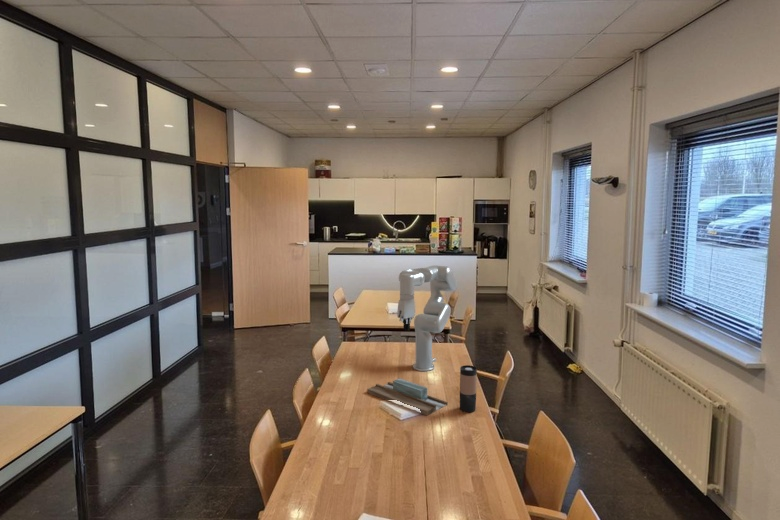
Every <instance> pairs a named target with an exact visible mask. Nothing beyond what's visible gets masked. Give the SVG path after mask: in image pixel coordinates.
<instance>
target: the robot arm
mask: <svg viewBox="0 0 780 520" xmlns="http://www.w3.org/2000/svg"><path fill="white" fill-rule="evenodd" d="M398 281H399V299H398V304H397V312H396V313H397V315H396V316H397V318H399V322H402V324H403V331H406V332H410V331H411V323H412V320H413V326H414V331H415V332H414V334H415V352H414V353H415V360H414V361H415V362H414V364H412V369H413V370H415V371H421V372H428V371H429V372H430V371H432V370H435V364H433V363H434V362H436V361H437V358H436V357H434V358H433V337H432V334H431V333H436V334H439V333H441V332H442V331H444V328H445V327H446V325H447V323H448V321H449V319H450V317H451V314H452V313H451V312H452V308H451V306H450V305H449V304H448V303H445V298H444V295H443V294H442V292H450V293H452V292H453V293H454V292H456V291H457V290H458V287H459V281H458V279H457V276H456V275H455V273H454V271H453V270H452V268H450V267H449V266H445V265H430V266H427V267H419V268H411V269H410V268H409V269H404V270H402V271H401V272H400V273H399V275H398ZM424 283H429V284H430V285H429V286H430V297H429V299H428V300H427V302H426V303H425V305H424V308H423V313H419V314H416V302H415V301H416V300H415V287H419V286H422V285H423V284H424ZM441 291H442V292H441Z"/></svg>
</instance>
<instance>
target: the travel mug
mask: <svg viewBox="0 0 780 520" xmlns="http://www.w3.org/2000/svg"><path fill="white" fill-rule="evenodd" d="M459 369H460V370H459V371H460V372H459V410H460V412H463V413H467V414H468V413H469V414H471V413H475V412H476V409H477V408H476V403H477V388H478V387H477V383H478V381H477V380H478V379H477V377H478V374H477V373H478V372H477V371H478V368H477V367H476V366H473V365H466V364H465V365H462V366H460V367H459Z"/></svg>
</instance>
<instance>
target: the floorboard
mask: <svg viewBox="0 0 780 520" xmlns="http://www.w3.org/2000/svg"><path fill="white" fill-rule="evenodd" d="M366 391H367V392H366V393H367V394H369V395H372V396H374V397H377V398H380V399H383V400H385V401H387V400H397V401H400V402H402V403H404V404H407V405H410V406H413V407H416V408H418V409H420V411H421V413H420V414H422V415H425V416H429V415H431V414H433V413H435V412H437V411H439V410H440V409H442V408H444V407H446V406H448V401H445V400H442V399H440V398H436V397H434V396H431V395H428V394H427V400H426V401H424V400H421V399H418V398H416V397H413V396H410V395H407V394H404V393H402V392H399V391H396V390H393V382H391V381H387V384H384V385H382V384H379V383H375V385H374V386H371V387H370V388H367V390H366Z"/></svg>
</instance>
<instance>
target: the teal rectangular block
mask: <svg viewBox="0 0 780 520" xmlns="http://www.w3.org/2000/svg"><path fill="white" fill-rule="evenodd" d="M392 383H393V390H396V391H399V392H402V393H404V394H407V395H410V396H413V397H416V398H418V399H421V400H424V401H426V400H427V395H428V387H426V386H423V385H420V384H417V383H414V382H412V381H407V380H406V379H402V378H398V379H395V380H393V381H392Z"/></svg>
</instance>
